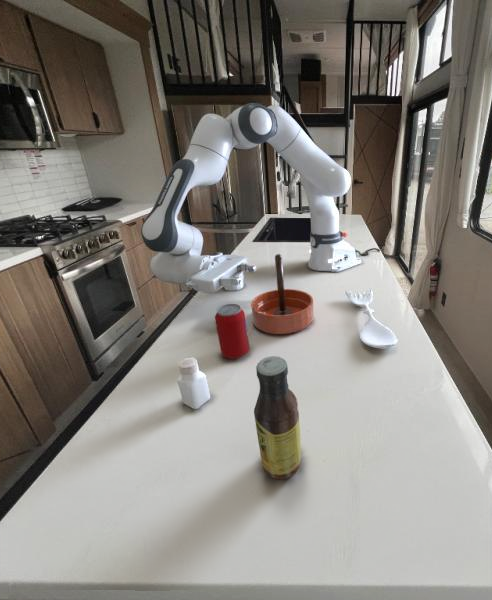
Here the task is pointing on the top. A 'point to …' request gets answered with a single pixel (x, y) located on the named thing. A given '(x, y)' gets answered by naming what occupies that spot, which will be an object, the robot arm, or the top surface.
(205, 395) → the pepper shaker
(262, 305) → the bowl
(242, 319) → the beverage can
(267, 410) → the sauce bottle
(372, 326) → the spoon
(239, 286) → the white cup
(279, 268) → the brown rod on stand
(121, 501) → the top surface
